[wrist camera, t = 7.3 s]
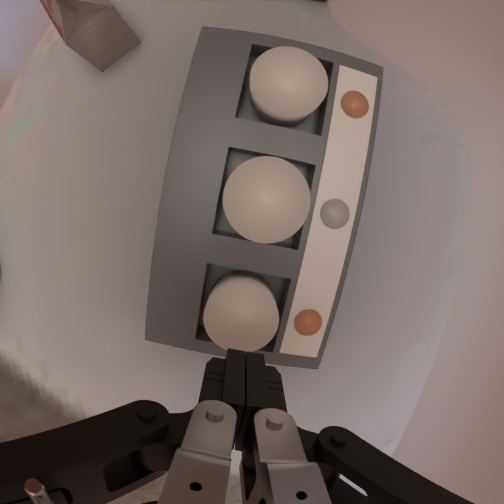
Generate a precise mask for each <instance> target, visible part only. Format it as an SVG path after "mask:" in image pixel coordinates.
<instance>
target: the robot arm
mask: <svg viewBox="0 0 504 504" xmlns="http://www.w3.org/2000/svg"><path fill="white" fill-rule="evenodd" d="M234 444H235V450H238V451H242V459H241V462H240V466H239V470H240V481H241V492H242V503H243V504H474V503H472V502H470V501H468V500H466V499H464V498H462V497H460V496H458V495H456V494H454V493H452V492H450V491H448V490H447V489H445V488H443V487H441V486H439V485H437V484H435V483H433V482H432V481H430V480H428V479H426V478H425V477H423V476H421V475H419V474H418V473H416V472H414V471H413V470H411V469H409V468H408V467H406V466H404V465H403V464H401V463H399V462H398V461H396V460H394V459H393V458H391V457H389V456H388V455H386V454H385V453H383V452H381V451H380V450H378V449H377V448H375V447H374V446H372V445H371V444H369V443H367V442H366V441H364V440H363V439H361V438H360V437H358V436H357V435H355V434H354V433H352V432H351V431H349V430H347V429H345V428H342V427H338V426H329V427H326V428H324V429H322V430H321V431H320V433H319V434H318V433H314V432H310V431H307V430H304V429H301V428H299V427H298V426H296V423H295V420H294V419H293V417H292V416H291V415H289V414H288V413H287V408H286V403H285V397H284V391H283V385H282V379H281V374H280V373H279V372H278V371H277V369H276V368H275V367H271V366H265V359H264V354H262V353H255V352H249V351H246V353H245V351H243V350H237V349H231V348H228V349H227V354H226V359H220V358H215V357H213V358H212V359H211V360H209V361H208V362H207V363H206V368H205V373H204V378H203V382H202V387H201V392H200V397H199V401H198V404H197V405H196V406H195V408H194V409H192V410H190V411H188V412H185V413H169V412H168V410H167V409H166V408H165V407H164V406H163V405H161V404H159V403H157V402H154V401H150V400H138V401H134V402H132V403H129V404H126V405H124V406H121V407H118V408H116V409H113V410H110V411H107V412H104V413H101V414H99V415H96V416H93V417H90V418H87V419H84V420H81V421H78V422H74V423H71V424H68V425H65V426H62V427H58V428H55V429H52V430H48V431H45V432H41V433H38V434H34V435H30V436H27V437H23V438H19V439H15V440H11V441H7V442H3V443H0V504H106V503H108V502H110V501H112V500H115V499H117V498H119V497H121V496H123V495H125V494H127V493H129V492H131V491H134V490H136V489H138V488H139V487H141V486H143V485H145V484H147V483H149V482H151V481H153V480H155V479H157V478H159V477H160V476H162V475H163V474H164V473H165V472H166V471H169V472H168V475H167V478H166V480H165V483H164V486H163V489H162V492H161V494H160V497H159V500H158V501H152V502H146V503H143V504H224V503H225V497H226V491H227V485H228V478H229V472H230V466H231V459H230V457H231V451H232V450H233V448H234ZM340 474H342V475H343V476H345V477H346V478H347V479H349V480H350V481H352V482H353V483H355V484H356V485H357V486H359V487H360V488H362V489H363V490H364V491H365V492H366V493H367V495H368V497H367V496H365V495H363V494H362V493H360V492H359V491H357V490H356V489H354V488H353V487H352V486H350V485H349V484H347V483H346V482H345V481H343V480H342V479H340V478H339V476H340Z"/></svg>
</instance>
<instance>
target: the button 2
mask: <svg viewBox="0 0 504 504" xmlns="http://www.w3.org/2000/svg"><path fill="white" fill-rule="evenodd" d="M327 90H328V77H327V74H326V71H325V69H324V67H323V65H322V64H321V63H320V61H319V60H318V59H317V58H316V57H314V56H313V55H312V54H310V53H309V52H307V51H305V50H303V49H300V48H296V47H291V46H281V47H276V48H272V49H270V50H267V51H266V52H264V53H263V54H261V55H260V56H259V57H258V58H257V59H256V61H255V62H254V64H253V66H252V68H251V72H250V87H249V97H250V102H251V104H252V107H253V108H254V110H255V111H256V113H257V114H258V115H259V116H260V117H261V118H263V119H264V120H266V121H268V122H270V123H272V124H275V125H280V126H291V125H295V124H298V123H300V122H302V121H304V120H305V119H307V118H308V117H309V116H310V115H311V114H312V113H313V111H314V110H315V109H316V108H317V107H318V106H319V105H320V104H321V102H322V101H323V100H324V98H325V96H326V94H327Z"/></svg>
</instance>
